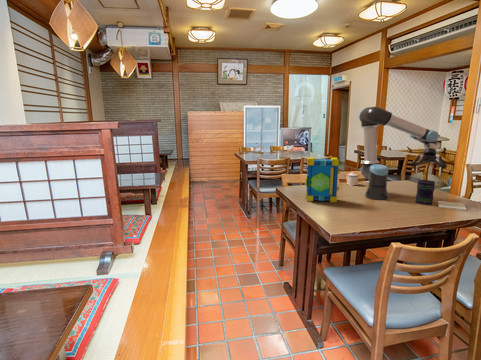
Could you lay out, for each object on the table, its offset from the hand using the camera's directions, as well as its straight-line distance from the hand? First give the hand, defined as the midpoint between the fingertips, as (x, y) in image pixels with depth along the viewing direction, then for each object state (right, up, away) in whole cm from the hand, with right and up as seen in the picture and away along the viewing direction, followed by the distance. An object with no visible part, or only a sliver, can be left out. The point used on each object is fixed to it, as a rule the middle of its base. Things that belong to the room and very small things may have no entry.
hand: (427, 175), depth 193 cm
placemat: (+7, -20, -12) cm, 25 cm away
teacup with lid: (-32, -8, +53) cm, 63 cm away
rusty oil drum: (-5, -19, -4) cm, 20 cm away
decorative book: (-72, -18, +5) cm, 74 cm away
